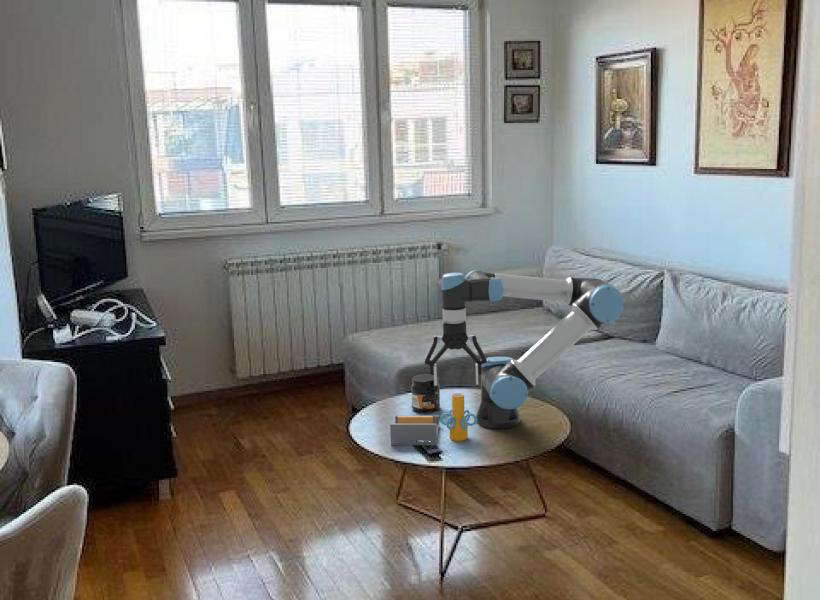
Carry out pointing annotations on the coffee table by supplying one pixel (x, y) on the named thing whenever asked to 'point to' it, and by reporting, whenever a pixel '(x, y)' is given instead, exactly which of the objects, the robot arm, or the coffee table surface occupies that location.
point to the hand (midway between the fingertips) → (456, 384)
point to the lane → (414, 432)
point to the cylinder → (458, 419)
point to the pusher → (415, 419)
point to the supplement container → (425, 393)
